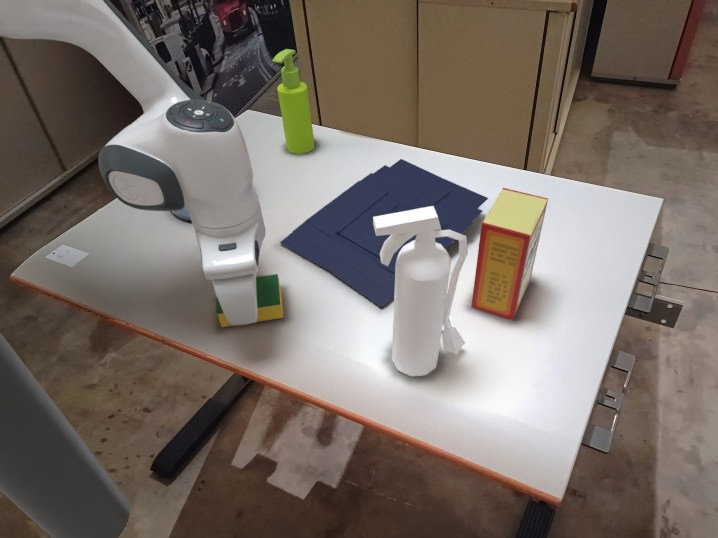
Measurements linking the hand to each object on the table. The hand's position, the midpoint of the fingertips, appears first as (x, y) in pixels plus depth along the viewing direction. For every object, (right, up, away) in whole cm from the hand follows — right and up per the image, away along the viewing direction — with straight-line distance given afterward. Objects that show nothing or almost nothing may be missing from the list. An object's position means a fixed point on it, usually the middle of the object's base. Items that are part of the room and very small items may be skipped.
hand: (250, 300), depth 82 cm
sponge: (0, -1, +1) cm, 2 cm away
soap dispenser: (+1, +33, +36) cm, 48 cm away
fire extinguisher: (+26, -8, -6) cm, 28 cm away
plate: (-13, +19, +22) cm, 32 cm away
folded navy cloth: (+20, +12, +15) cm, 28 cm away
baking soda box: (+38, +1, +3) cm, 38 cm away
